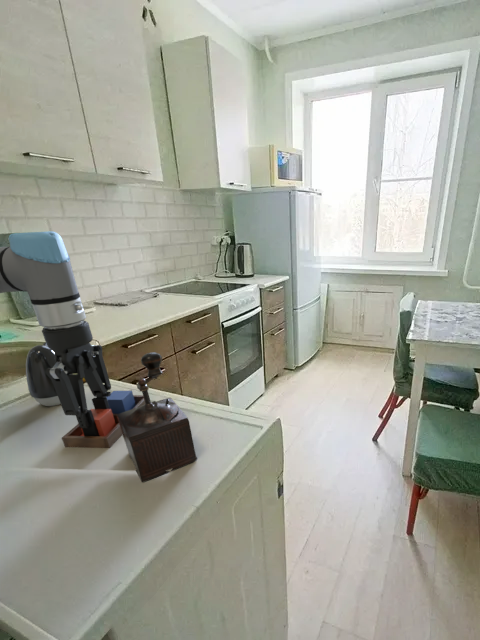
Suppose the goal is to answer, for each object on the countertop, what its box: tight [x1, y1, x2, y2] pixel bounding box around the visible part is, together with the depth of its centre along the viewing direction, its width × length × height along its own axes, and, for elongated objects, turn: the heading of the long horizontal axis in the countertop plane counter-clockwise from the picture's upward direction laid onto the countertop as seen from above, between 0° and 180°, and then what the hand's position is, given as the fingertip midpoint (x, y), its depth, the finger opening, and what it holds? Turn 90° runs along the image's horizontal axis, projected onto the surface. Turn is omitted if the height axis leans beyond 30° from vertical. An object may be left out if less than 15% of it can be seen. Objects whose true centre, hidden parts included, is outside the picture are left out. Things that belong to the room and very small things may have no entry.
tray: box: [61, 394, 145, 449], centre depth 78 cm, size 10×18×3 cm, turn 175°
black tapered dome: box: [25, 342, 61, 407], centre depth 88 cm, size 10×10×15 cm
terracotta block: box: [81, 408, 116, 436], centre depth 73 cm, size 4×4×4 cm
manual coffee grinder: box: [117, 351, 198, 483], centre depth 65 cm, size 16×11×18 cm
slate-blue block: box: [107, 390, 136, 414], centre depth 81 cm, size 4×4×4 cm
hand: (100, 431), depth 74 cm, fingers closed on terracotta block, 4 cm apart
